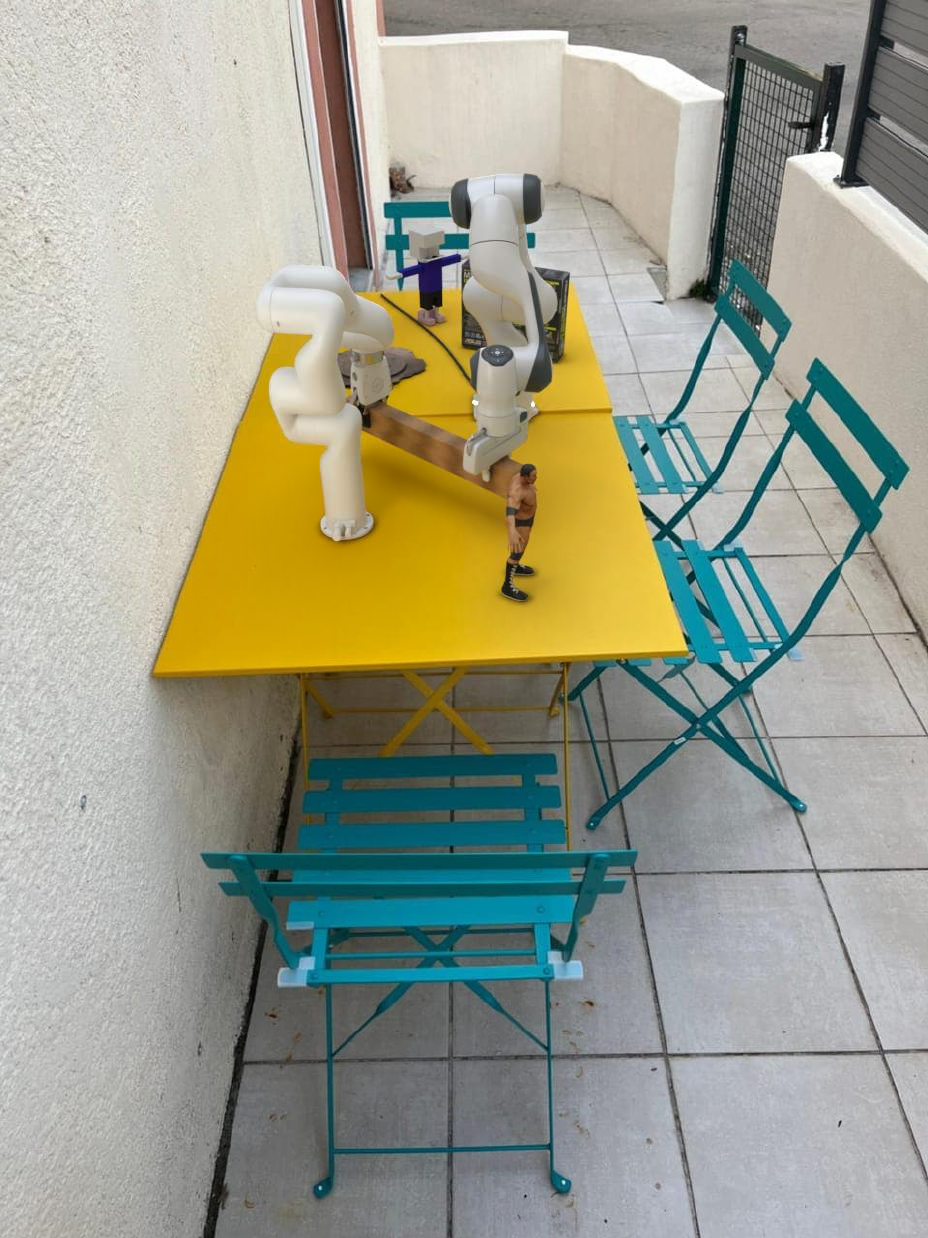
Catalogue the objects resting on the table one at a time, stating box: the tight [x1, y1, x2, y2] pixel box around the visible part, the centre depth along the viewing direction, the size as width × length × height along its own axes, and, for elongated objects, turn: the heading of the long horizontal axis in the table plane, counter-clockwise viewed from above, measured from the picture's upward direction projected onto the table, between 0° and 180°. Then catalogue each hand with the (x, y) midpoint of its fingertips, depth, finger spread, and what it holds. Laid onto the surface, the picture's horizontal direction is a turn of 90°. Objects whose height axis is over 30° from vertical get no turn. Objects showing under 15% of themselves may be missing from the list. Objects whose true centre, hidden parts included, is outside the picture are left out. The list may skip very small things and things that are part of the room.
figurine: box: [500, 463, 538, 602], centre depth 184 cm, size 24×6×30 cm, turn 168°
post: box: [346, 394, 524, 500], centre depth 216 cm, size 56×5×8 cm, turn 48°
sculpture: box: [337, 346, 426, 387], centre depth 273 cm, size 33×35×16 cm
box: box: [460, 258, 571, 363], centre depth 279 cm, size 34×7×27 cm, turn 68°
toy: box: [384, 223, 469, 327], centre depth 298 cm, size 35×10×30 cm, turn 130°
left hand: (373, 421), depth 228 cm, fingers closed on post, 4 cm apart
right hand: (495, 474), depth 206 cm, fingers closed on post, 5 cm apart
